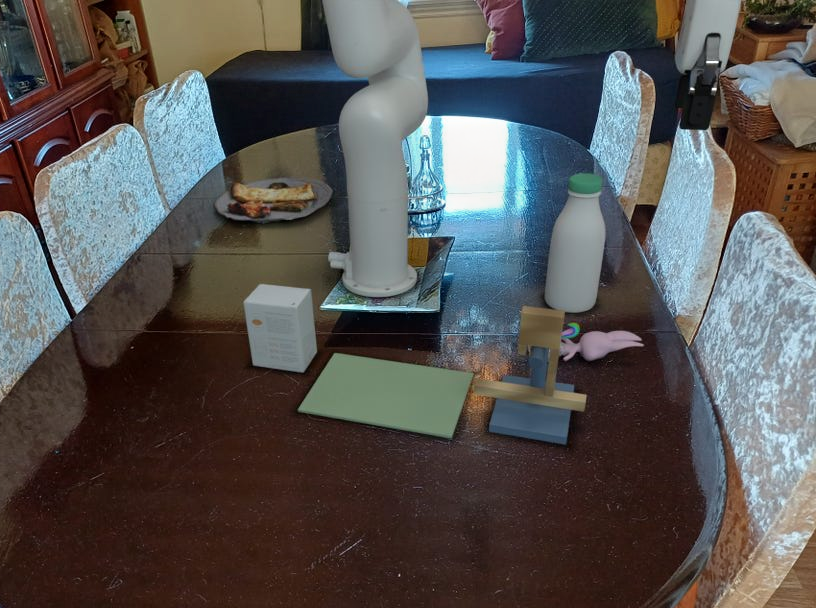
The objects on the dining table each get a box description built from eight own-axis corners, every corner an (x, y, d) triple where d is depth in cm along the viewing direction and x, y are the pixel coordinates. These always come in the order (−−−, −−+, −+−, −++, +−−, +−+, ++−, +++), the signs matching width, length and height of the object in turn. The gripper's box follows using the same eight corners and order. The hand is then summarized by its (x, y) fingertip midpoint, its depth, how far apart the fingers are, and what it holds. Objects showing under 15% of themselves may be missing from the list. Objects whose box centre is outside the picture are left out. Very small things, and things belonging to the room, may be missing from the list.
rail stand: (488, 431, 88) (494, 353, 82) (503, 381, 97) (509, 308, 90) (565, 445, 85) (578, 365, 79) (573, 392, 94) (584, 316, 88)
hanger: (473, 394, 89) (479, 307, 82) (475, 387, 90) (481, 300, 84) (584, 411, 85) (599, 321, 78) (585, 404, 86) (600, 314, 80)
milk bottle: (597, 315, 110) (618, 187, 99) (544, 312, 111) (559, 186, 100) (593, 291, 116) (611, 169, 105) (543, 289, 118) (556, 168, 107)
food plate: (202, 228, 147) (199, 212, 145) (230, 188, 166) (228, 173, 164) (324, 228, 144) (323, 211, 142) (338, 187, 163) (337, 172, 161)
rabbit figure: (531, 377, 99) (647, 365, 96) (527, 340, 96) (648, 327, 93) (527, 352, 105) (637, 340, 101) (523, 317, 101) (637, 303, 98)
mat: (298, 411, 93) (297, 409, 93) (334, 355, 104) (334, 352, 104) (451, 438, 87) (451, 436, 87) (473, 375, 98) (473, 373, 98)
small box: (318, 353, 105) (312, 288, 99) (303, 374, 101) (297, 307, 95) (267, 346, 107) (259, 282, 102) (251, 366, 103) (242, 300, 97)
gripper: (681, -46, 88) (655, 100, 97) (692, -31, 75) (660, 137, 84) (750, -48, 86) (716, 101, 95) (774, -33, 72) (732, 139, 82)
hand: (690, 118), depth 90 cm, fingers open, 9 cm apart
